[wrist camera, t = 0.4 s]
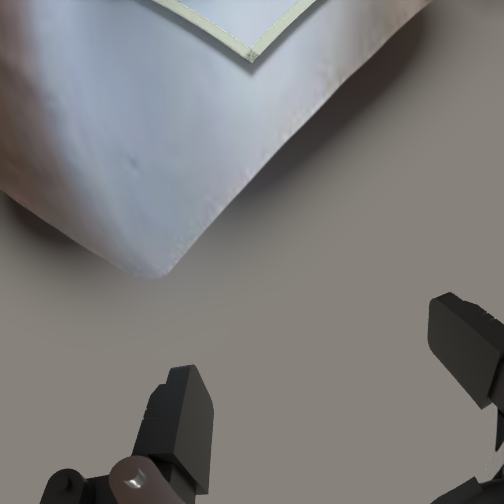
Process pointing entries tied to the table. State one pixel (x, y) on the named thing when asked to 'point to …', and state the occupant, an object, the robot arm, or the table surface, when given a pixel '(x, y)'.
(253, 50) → the pale green frame
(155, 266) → the table surface
